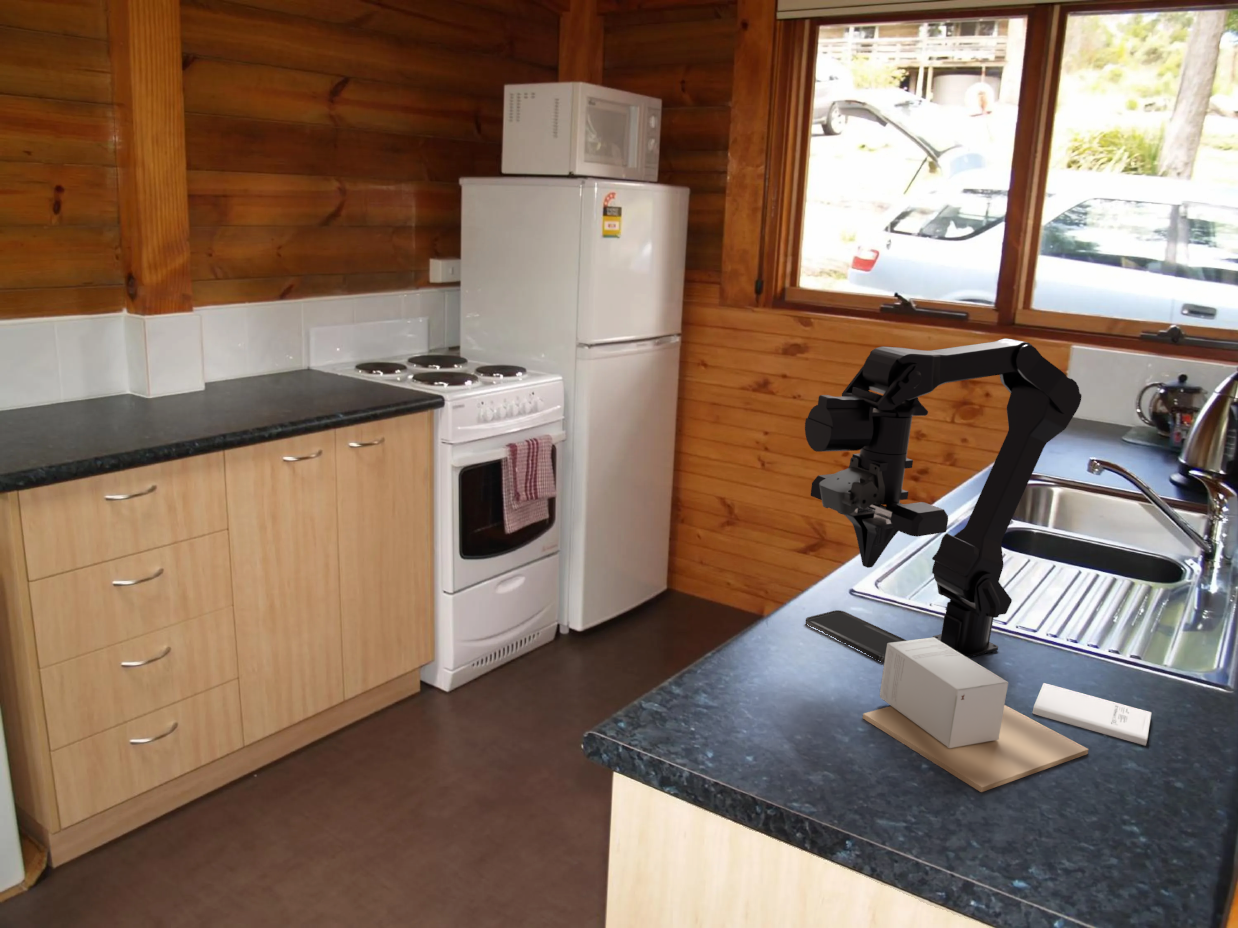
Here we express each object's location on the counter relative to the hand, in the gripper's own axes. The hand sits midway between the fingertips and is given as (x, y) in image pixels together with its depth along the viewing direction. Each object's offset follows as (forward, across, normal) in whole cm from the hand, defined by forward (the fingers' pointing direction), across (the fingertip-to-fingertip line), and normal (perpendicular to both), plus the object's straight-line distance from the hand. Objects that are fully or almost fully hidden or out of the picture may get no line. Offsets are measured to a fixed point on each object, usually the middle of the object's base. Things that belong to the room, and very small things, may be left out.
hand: (867, 566), depth 131 cm
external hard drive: (+14, +24, +16) cm, 32 cm away
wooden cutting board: (+13, +21, -2) cm, 25 cm away
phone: (+14, -5, +6) cm, 16 cm away
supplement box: (+9, +11, -3) cm, 14 cm away
